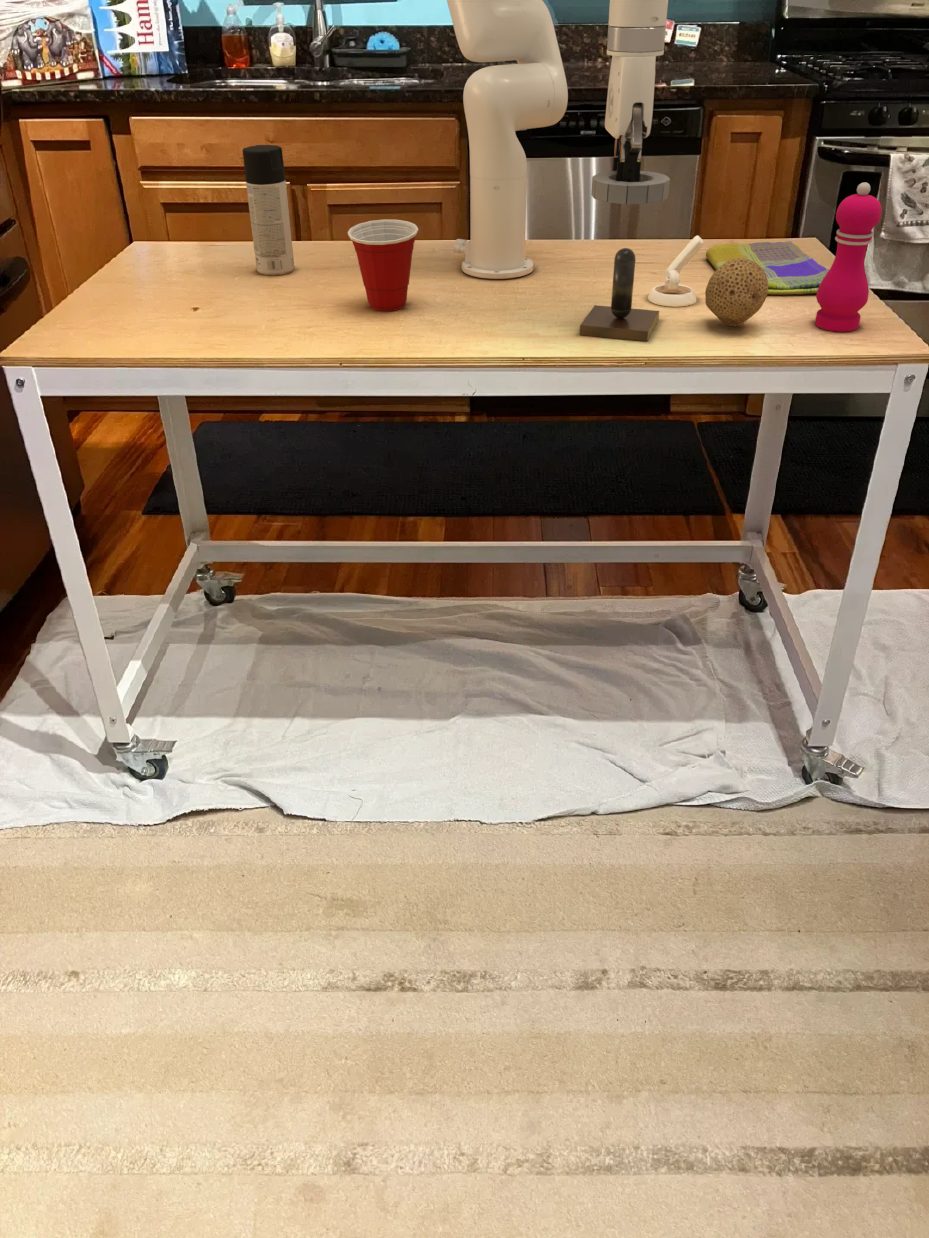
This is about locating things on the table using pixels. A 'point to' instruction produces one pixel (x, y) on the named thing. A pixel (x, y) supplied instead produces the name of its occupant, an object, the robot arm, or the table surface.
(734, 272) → the natural sponge
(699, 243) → the white lever handle
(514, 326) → the table surface
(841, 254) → the pepper mill
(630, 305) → the spindle
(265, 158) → the spray can
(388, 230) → the plastic cup
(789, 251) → the dish towel
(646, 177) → the grey ring
